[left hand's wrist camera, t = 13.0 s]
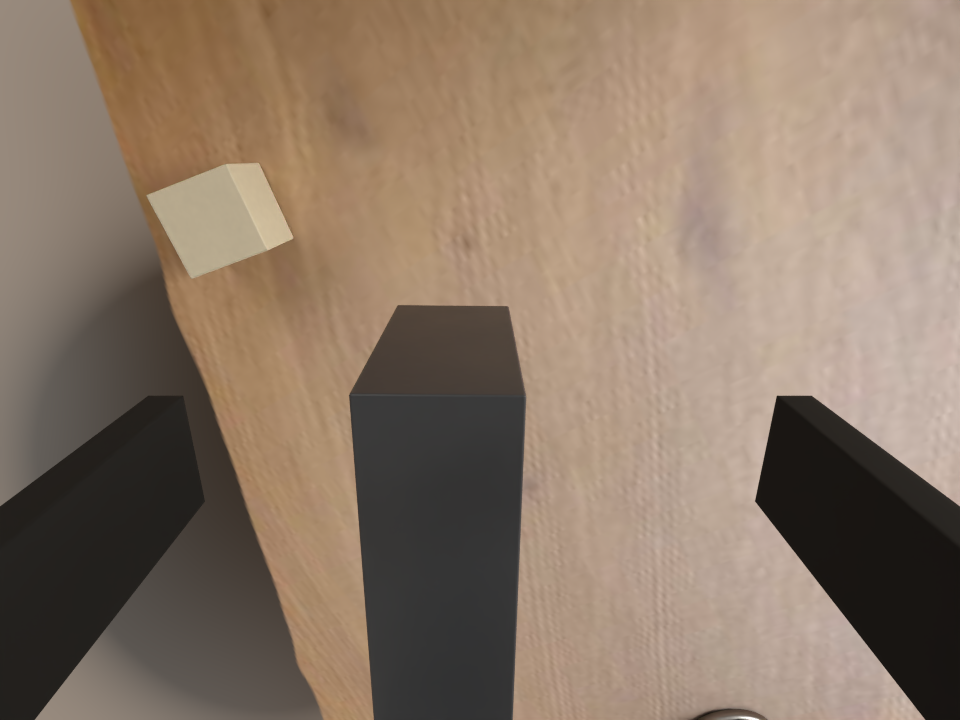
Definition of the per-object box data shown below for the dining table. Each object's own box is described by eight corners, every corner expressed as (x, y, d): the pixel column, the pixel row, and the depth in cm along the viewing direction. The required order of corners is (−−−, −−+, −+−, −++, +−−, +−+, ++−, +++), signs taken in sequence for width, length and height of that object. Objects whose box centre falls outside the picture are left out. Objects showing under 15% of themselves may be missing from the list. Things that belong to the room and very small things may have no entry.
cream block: (188, 190, 36) (145, 195, 31) (259, 162, 35) (225, 163, 30) (226, 263, 37) (190, 279, 33) (294, 238, 37) (268, 250, 32)
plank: (397, 305, 23) (348, 394, 14) (508, 306, 23) (526, 395, 14) (415, 728, 31) (390, 945, 22) (496, 729, 31) (503, 945, 22)
